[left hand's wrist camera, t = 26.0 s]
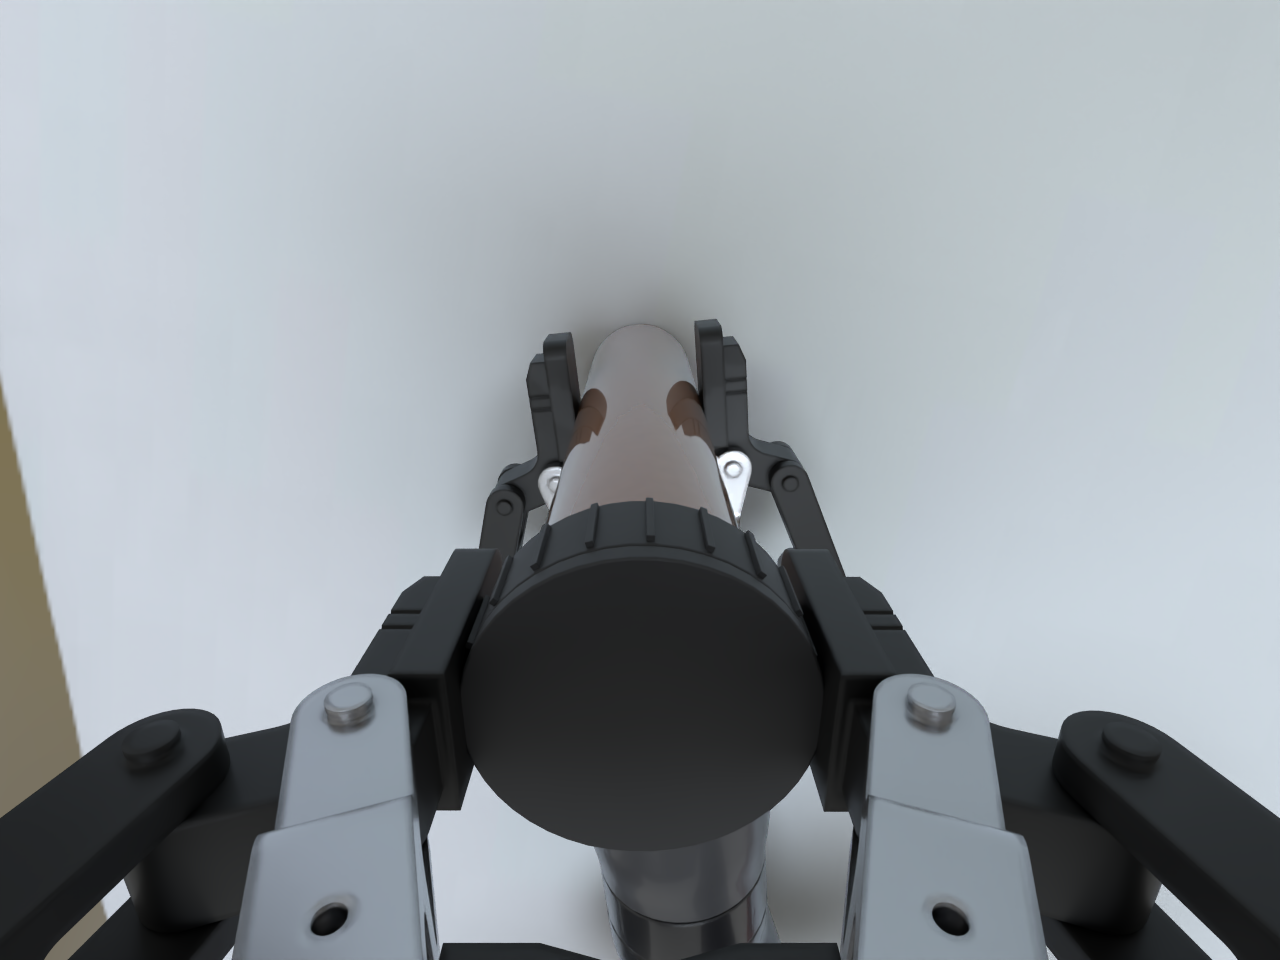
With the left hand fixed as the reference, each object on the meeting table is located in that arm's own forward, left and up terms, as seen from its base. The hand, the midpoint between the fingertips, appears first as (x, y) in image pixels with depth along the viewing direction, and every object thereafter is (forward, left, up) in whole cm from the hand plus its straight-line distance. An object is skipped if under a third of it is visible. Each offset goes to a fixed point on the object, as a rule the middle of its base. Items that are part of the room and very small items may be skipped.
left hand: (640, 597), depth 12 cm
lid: (0, 0, +3) cm, 3 cm away
